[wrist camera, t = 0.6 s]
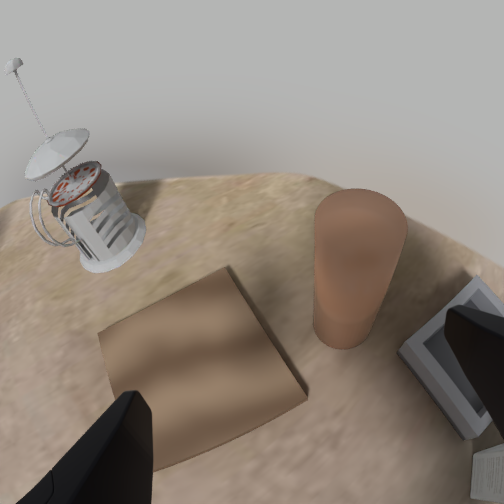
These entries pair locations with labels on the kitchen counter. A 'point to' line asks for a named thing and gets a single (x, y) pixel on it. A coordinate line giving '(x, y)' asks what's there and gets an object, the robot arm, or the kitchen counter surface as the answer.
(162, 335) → the mat
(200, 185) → the kitchen counter surface
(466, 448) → the kitchen counter surface
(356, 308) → the terracotta canister
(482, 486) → the skincare box
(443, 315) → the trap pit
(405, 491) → the kitchen counter surface
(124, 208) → the french press
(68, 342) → the kitchen counter surface
